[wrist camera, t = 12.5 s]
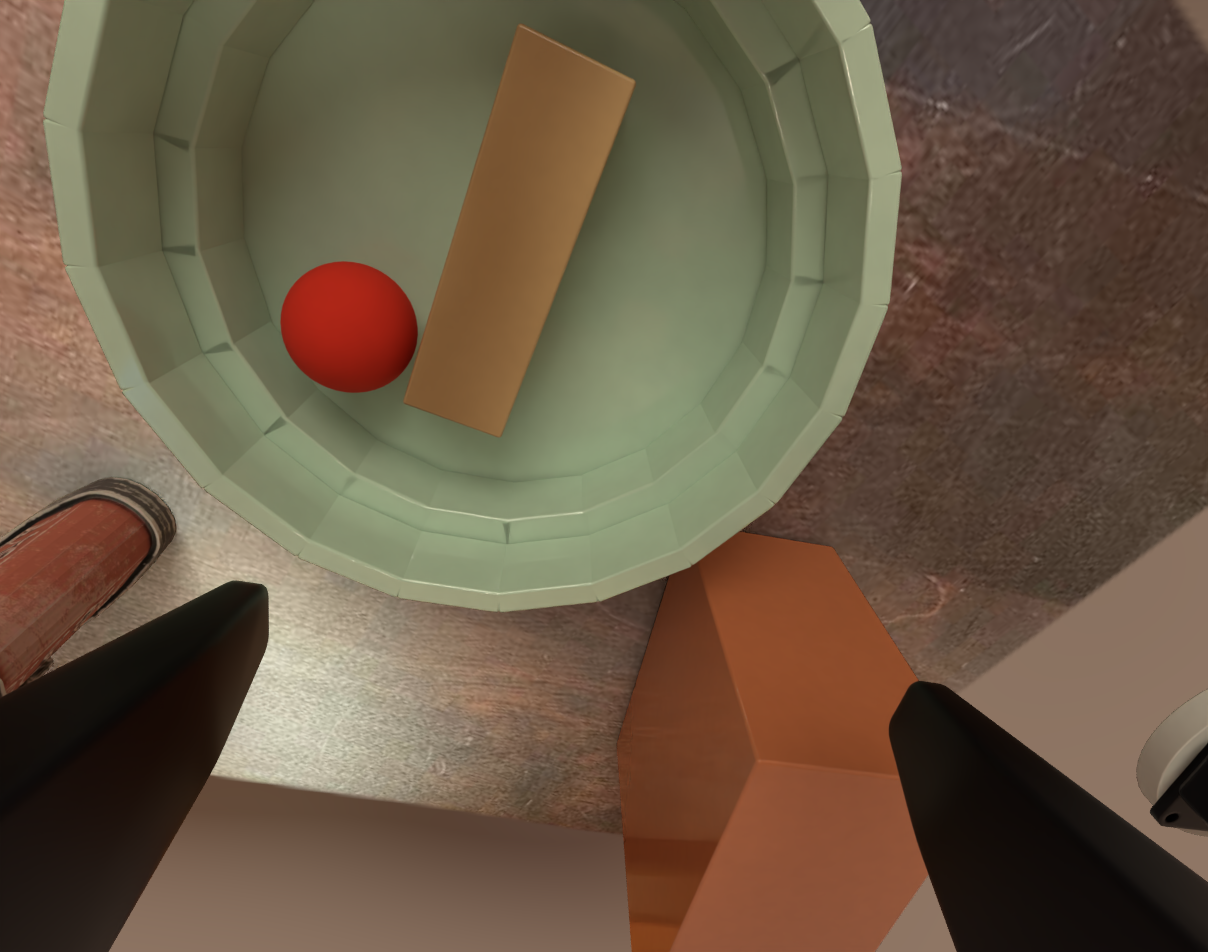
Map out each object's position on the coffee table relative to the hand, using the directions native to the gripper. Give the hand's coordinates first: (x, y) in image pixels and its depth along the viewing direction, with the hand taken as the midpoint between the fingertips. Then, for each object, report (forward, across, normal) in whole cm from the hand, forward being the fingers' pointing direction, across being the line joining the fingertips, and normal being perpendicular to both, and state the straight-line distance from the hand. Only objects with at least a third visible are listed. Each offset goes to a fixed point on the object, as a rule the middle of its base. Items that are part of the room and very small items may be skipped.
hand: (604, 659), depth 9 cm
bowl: (+11, +3, -3) cm, 12 cm away
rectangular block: (+11, -6, +8) cm, 15 cm away
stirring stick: (+10, +3, -4) cm, 11 cm away
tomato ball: (+9, +6, -1) cm, 11 cm away
